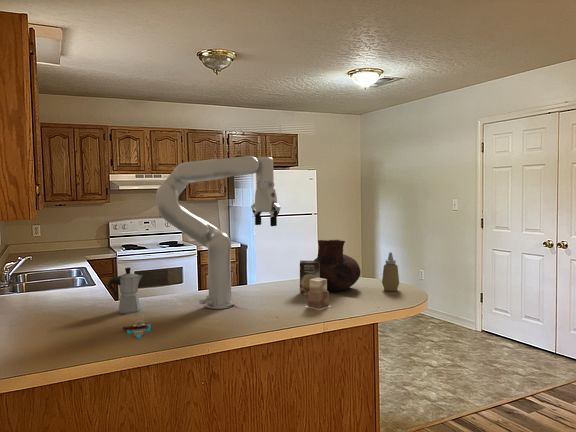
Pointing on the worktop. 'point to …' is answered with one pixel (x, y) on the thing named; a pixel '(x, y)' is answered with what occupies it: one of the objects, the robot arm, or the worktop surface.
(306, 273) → the coffee box
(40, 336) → the worktop surface
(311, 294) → the walnut base block
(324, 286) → the maple cube
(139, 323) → the gear mechanism
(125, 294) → the coffee maker
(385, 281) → the squeeze bottle
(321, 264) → the jug
